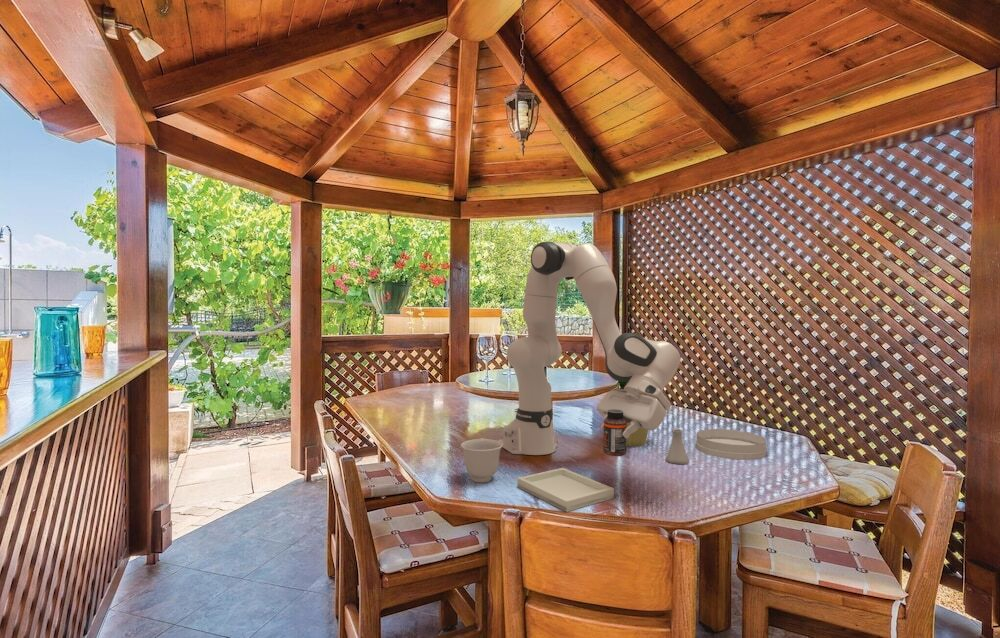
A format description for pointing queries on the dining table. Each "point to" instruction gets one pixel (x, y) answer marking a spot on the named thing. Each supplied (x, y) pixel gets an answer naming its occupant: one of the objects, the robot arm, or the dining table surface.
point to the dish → (731, 444)
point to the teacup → (481, 458)
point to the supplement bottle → (614, 433)
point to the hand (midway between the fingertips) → (613, 433)
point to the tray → (565, 489)
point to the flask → (677, 449)
